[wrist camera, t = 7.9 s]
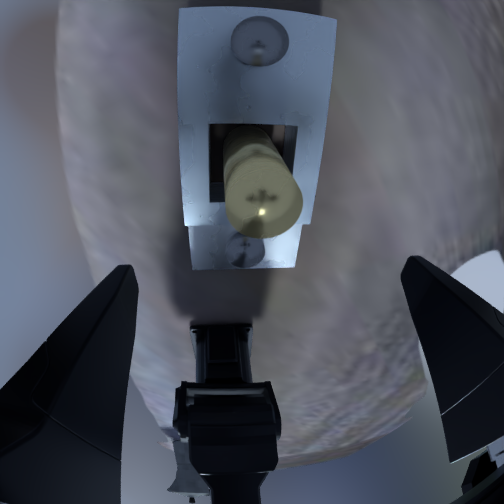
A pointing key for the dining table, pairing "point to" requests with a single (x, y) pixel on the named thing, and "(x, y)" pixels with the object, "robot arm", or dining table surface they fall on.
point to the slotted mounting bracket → (249, 116)
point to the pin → (258, 185)
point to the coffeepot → (187, 475)
